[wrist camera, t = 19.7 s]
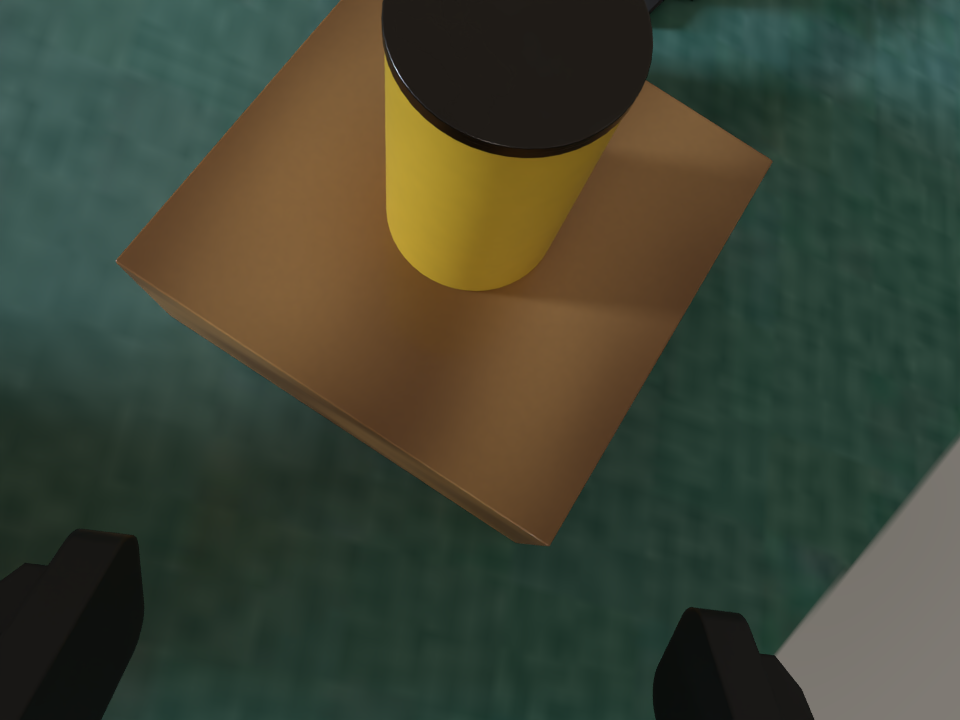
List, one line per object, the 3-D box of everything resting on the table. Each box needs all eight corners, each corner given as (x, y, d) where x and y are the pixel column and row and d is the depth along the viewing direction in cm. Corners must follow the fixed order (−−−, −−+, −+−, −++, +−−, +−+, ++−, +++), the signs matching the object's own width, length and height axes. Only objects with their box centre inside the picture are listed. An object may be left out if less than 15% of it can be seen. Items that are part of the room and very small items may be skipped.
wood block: (169, 314, 24) (114, 260, 19) (401, 30, 28) (404, -75, 23) (516, 543, 24) (549, 547, 19) (706, 225, 27) (774, 160, 23)
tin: (347, 208, 20) (321, 13, 13) (467, 100, 22) (510, -137, 14) (477, 329, 20) (531, 203, 12) (592, 212, 21) (706, 32, 14)
